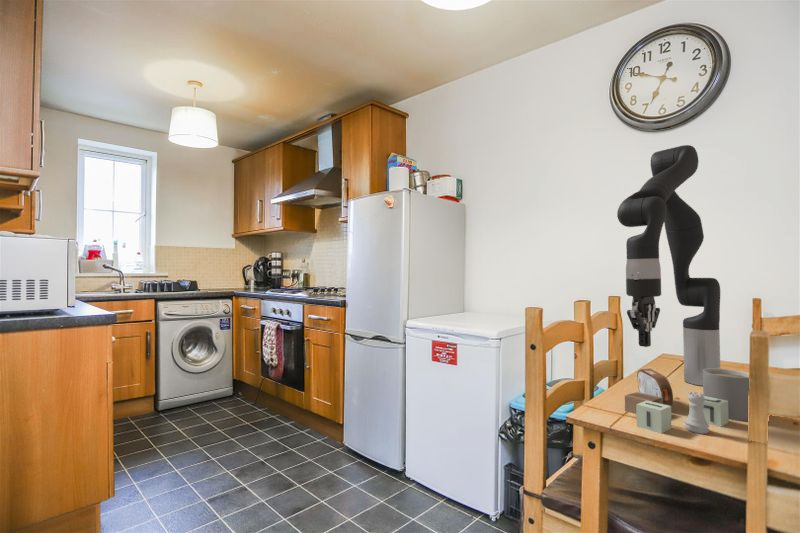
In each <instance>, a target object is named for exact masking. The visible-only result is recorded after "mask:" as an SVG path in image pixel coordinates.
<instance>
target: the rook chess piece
mask: <svg viewBox="0 0 800 533" xmlns="http://www.w3.org/2000/svg"><path fill="white" fill-rule="evenodd" d="M697 393H698V394H697ZM686 397H687V399H688V401H689V402H688V406H689V410H688V415H687V418H686V419H685V420H684V424H685V425H684V428H685V429H686V431H689V432H691V433H694V434H698V435H699V434H700V435H707V434H709V432H711V431H710V429H709V427H710V424H708V423H707V422H706V420H705V417H704V412H703V407H704V405H703V402H704V401H705V400H706V399H705V398H704V397H703V393H701V392H695V391H693V392H692V391H689V392H688V395H687V396H686Z"/></svg>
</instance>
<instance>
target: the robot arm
mask: <svg viewBox="0 0 800 533" xmlns="http://www.w3.org/2000/svg"><path fill="white" fill-rule="evenodd" d="M698 167H699V156H698V151H697V149H696V148H695V147H694V146H692V145H689V144H684V145H679V146H674V147H670V148H666V149H663V150H659V151H658V150H657V151H655V152H653V154H652V155H651V157H650V170H651V174H652V177H650V178H649V179H648V180H647V181H646V182H645V183H644V184H643V185H642V186H641V187H640V188H639V190H638V191H637V192H634V193H632V194H630V195H629V196H627V198H624V200H623V201H622V202H621V203H620V205H619V206H618V209H617V212H616V213H617V214H616V215H617V216H616V217H617V219H618V222H619V223H620V224H621V225H622V226H624V227H627V228H634V227H635V228H636V227H637V228H638V227H646V228H645V230H644V231H643V232H641V233H640V234H636V235H632V236H630V237H629V238H627V240H626V263H625V264H626V265H625V266H626V267H625V286H626V287H625V290H626V291H625V293H626V295H627V296H628V297H632V301H631V309H627V310H626V314H627V317H628V319H629V321H630V324H631V326H632V328H633V329H634V330H636V331H637V332H638V347H639V346H640V347H644V348H648V347H651V345H652V338H651V332H652V331H653V329H655V328H656V325H657V322H658V319H659V316H660V315H659V314H660V313H661V308H660V307H656V301H655V297H660V296H662V272H661V263H660V238H661V233H662V229H663V227H664V229H665V235H666V239H667V244H668V248H669V253H670V257H671V260H672V266H673V267H672V268H673V276H674V286H675V294H676V295H675V296H676V298H677V301H678V303H679V305H681V306H685V307H696V308H697V307H698V308H703V311H702V312H701V313H699V314H697V315H693V316H688V317H685V318H684V319H683V320H682V329H683V330H682V331H683V332H682V333H683V334H682V336H683V340H682V341H683V378H684V380H683V381H684V382H685V383H687V384H691V385H696V386H702V387H703V369H707V368H720V369H721V341H720V339H721V338H720V318H721V317H720V316H721V314H720V312H721V308H720V307H721V284H720V282H719V281H718V280H717V279H716V278H714V277H691V276H690V266H691V263H692V261H693V259H694V257H695V256H696V254H697V253H698V252H699V249H700V248H701V246H702V244H703V241H704V239H705V236H704V228H703V224H702V219H701V217H700V215H699V214H698V212H697V211H696V210H694V208H692V207H691V206H690V205H689V204H688V203H687V202H686V201H685V200H684V199H682V198H681V197H680V195H679V194H678V193H677V192H676V190H677V189H678V188H679V187H680V186H682V184H684V183H685V182H687V180H689V179H690V178H691V177H692V176H694V175H695V173H696V172H697V170H698Z"/></svg>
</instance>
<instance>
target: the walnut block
mask: <svg viewBox="0 0 800 533" xmlns="http://www.w3.org/2000/svg"><path fill="white" fill-rule="evenodd" d="M644 401H651V402H656V403H660V404H663V398H662V397H657V396H653V395H649V394H644V393H640V391H636V392H633V393H629V394H625V395H624V411H625V412H628V413H632V414H636V404H639V403H641V402H644Z"/></svg>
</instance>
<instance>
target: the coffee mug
mask: <svg viewBox="0 0 800 533" xmlns="http://www.w3.org/2000/svg"><path fill="white" fill-rule="evenodd" d="M749 373H750V372H747V371H742V370H737V369H730V368H729V369H728V368H721V367H720V368H707V369H703V386H702V392H703V393H702V394H703V396H707V397H712V398H717V399H722V400H727V401H728V417H729V420H730V419H731V421H738V420H739V422H741V421H740V420H744V421H743V422H749V421H748V391H749Z"/></svg>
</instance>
